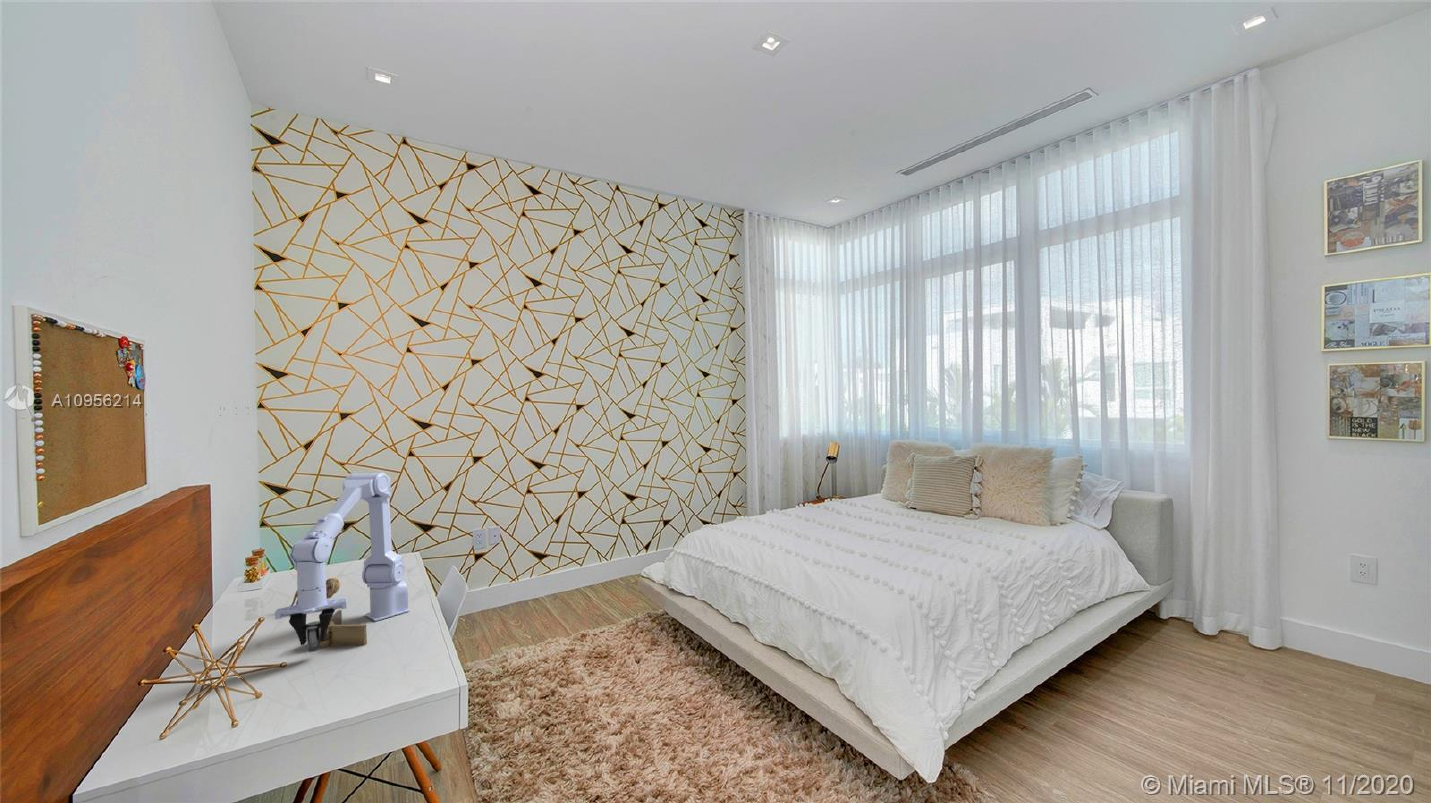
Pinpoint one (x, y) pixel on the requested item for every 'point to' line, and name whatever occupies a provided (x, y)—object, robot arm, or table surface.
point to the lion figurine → (331, 589)
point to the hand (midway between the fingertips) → (313, 641)
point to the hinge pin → (313, 635)
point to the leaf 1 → (335, 622)
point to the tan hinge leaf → (345, 635)
